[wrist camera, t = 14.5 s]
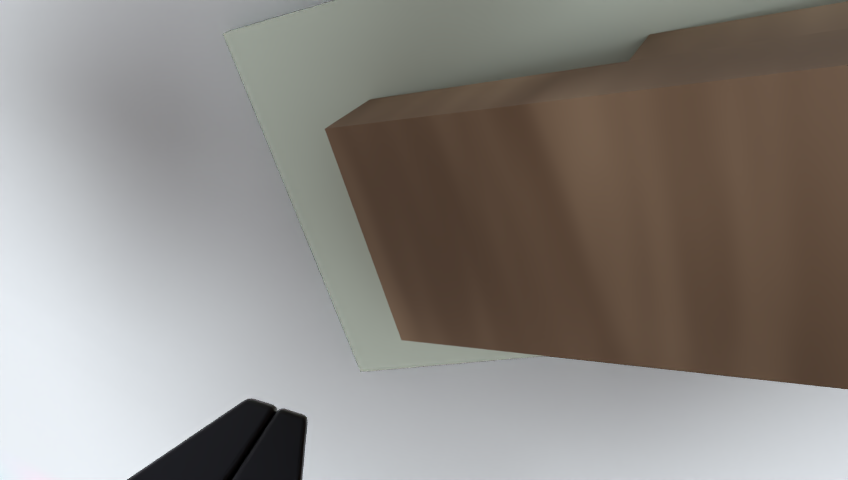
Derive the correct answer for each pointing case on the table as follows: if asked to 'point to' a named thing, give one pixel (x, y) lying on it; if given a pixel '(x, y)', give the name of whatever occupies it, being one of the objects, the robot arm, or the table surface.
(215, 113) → the table surface
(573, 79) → the domino
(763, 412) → the table surface
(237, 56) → the mat
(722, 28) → the domino
